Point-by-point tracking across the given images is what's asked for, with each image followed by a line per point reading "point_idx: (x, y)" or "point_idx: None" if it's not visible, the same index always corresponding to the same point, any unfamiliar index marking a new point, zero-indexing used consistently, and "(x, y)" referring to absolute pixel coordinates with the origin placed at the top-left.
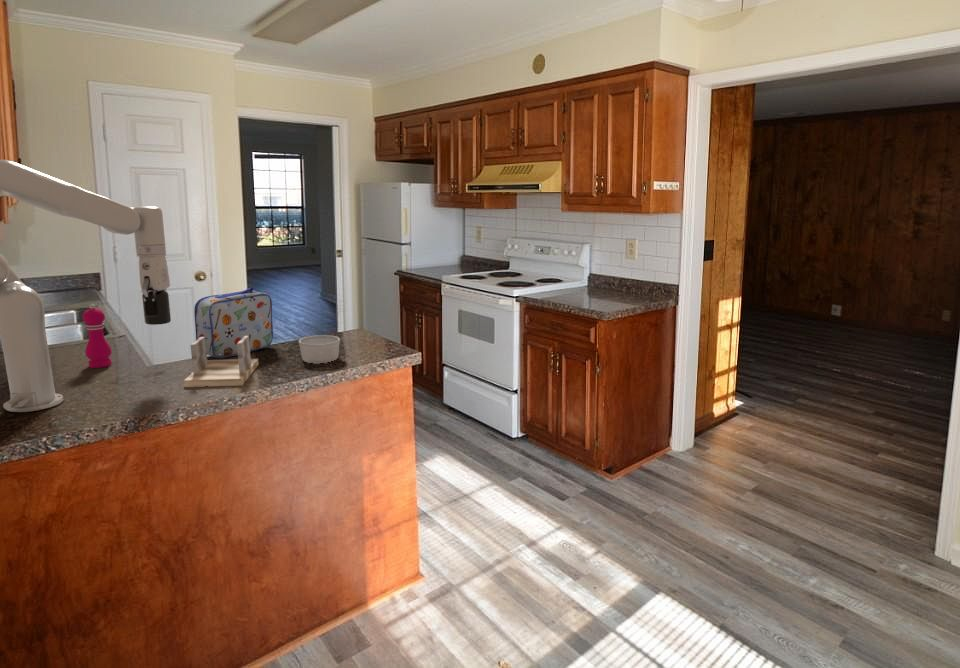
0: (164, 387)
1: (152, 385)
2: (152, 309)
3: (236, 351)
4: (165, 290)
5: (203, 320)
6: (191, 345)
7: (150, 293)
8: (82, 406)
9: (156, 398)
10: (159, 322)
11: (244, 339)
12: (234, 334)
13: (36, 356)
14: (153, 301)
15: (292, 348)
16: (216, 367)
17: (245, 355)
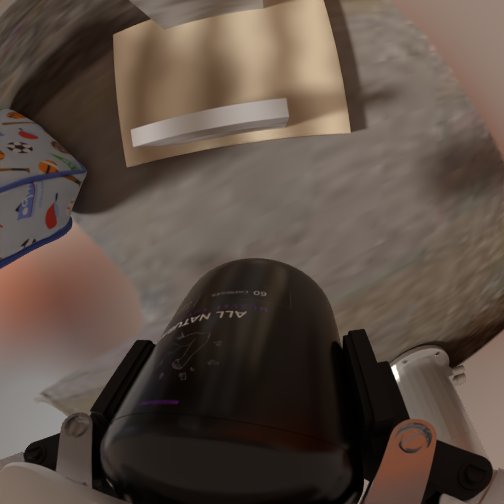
0: (344, 189)
1: (325, 230)
2: (390, 377)
3: (50, 136)
4: (61, 453)
5: (12, 219)
6: (288, 113)
7: (472, 486)
8: (445, 302)
9: (427, 173)
10: (325, 295)
11: None
12: (17, 140)
13: (469, 420)
14: (388, 431)
15: (16, 62)
16: (202, 92)
17: None
